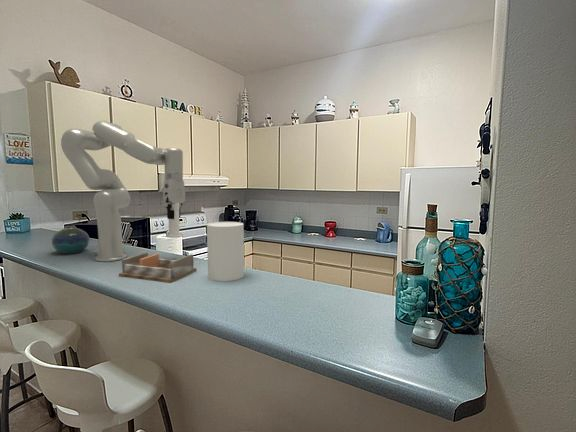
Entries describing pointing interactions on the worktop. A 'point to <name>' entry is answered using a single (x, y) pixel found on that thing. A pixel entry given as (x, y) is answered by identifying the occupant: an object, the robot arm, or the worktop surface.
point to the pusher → (150, 261)
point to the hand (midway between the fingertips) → (173, 217)
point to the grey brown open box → (157, 268)
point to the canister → (225, 250)
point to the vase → (70, 240)
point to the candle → (174, 223)
